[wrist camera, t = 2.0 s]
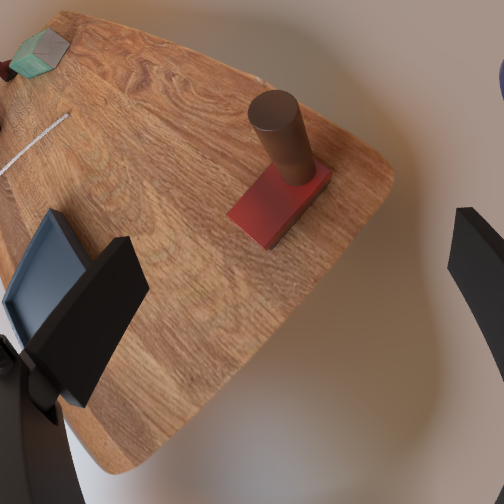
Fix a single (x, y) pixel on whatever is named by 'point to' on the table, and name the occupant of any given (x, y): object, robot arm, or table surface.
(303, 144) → the brown cylinder on base
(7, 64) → the stuffed fox
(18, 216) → the table surface
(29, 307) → the tray
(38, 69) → the box
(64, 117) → the brush
